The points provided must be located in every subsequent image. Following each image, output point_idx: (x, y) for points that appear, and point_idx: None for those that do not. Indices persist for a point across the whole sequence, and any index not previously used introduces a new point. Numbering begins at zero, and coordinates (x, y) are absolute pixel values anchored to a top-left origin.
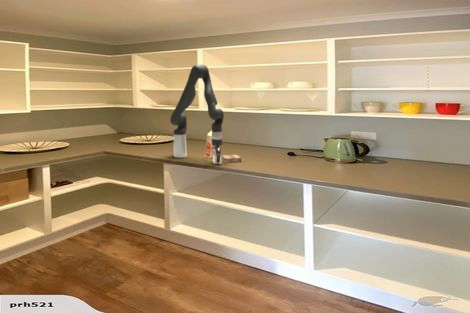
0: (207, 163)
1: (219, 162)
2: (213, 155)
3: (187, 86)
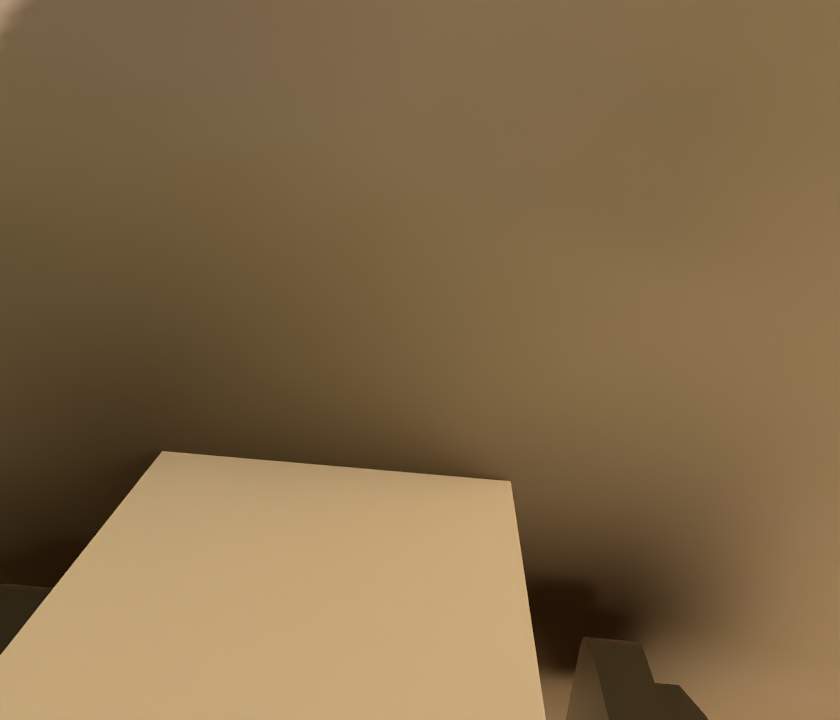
0: (382, 154)
1: None
2: None
3: None
